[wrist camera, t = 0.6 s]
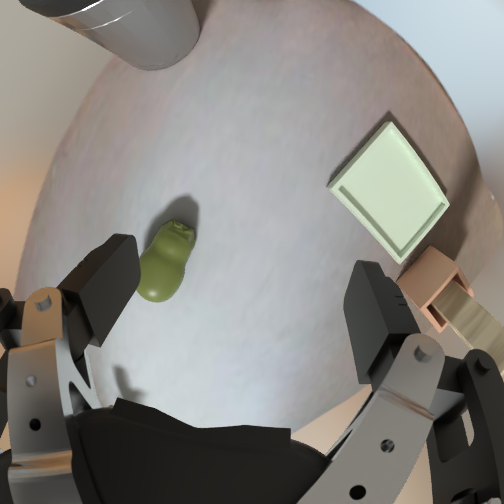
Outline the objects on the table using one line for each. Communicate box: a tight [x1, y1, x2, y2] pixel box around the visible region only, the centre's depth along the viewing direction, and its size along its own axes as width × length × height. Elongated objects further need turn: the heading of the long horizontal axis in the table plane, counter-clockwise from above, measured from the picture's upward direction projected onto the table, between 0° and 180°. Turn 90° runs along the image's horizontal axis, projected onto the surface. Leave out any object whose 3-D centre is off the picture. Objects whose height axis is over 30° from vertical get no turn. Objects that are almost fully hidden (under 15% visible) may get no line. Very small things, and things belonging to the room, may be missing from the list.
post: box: [430, 280, 504, 381], centre depth 25 cm, size 4×4×20 cm
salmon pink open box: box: [396, 245, 474, 333], centre depth 32 cm, size 7×7×7 cm
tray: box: [327, 122, 450, 264], centre depth 30 cm, size 14×11×2 cm
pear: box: [136, 218, 195, 302], centre depth 30 cm, size 6×5×10 cm
